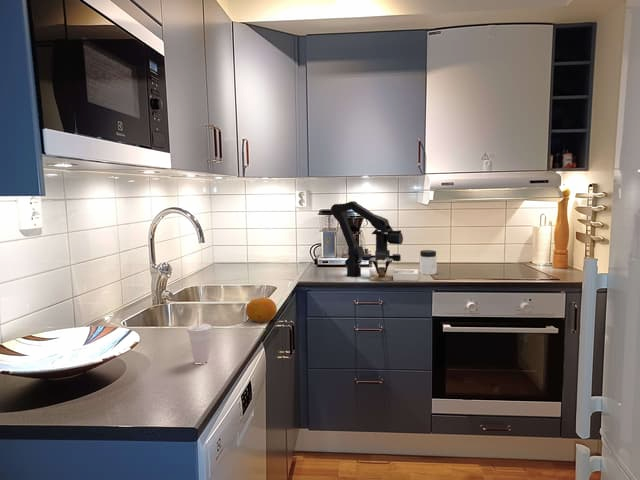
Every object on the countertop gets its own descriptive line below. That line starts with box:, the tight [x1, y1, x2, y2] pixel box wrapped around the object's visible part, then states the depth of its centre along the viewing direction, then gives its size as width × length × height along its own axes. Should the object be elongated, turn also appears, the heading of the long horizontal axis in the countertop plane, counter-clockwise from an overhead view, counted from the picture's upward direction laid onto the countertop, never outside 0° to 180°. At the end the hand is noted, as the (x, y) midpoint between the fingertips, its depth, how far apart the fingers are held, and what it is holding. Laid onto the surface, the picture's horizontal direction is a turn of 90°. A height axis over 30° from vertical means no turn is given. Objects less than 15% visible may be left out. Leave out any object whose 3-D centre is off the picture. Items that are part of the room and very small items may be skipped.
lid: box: [369, 266, 393, 282], centre depth 228 cm, size 10×10×6 cm
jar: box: [419, 249, 438, 276], centre depth 240 cm, size 9×8×12 cm
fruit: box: [245, 297, 278, 323], centre depth 159 cm, size 10×10×8 cm
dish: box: [392, 268, 419, 282], centre depth 227 cm, size 12×12×4 cm
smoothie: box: [186, 311, 213, 364], centre depth 121 cm, size 6×6×14 cm
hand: (381, 274), depth 228 cm, fingers closed on lid, 3 cm apart
